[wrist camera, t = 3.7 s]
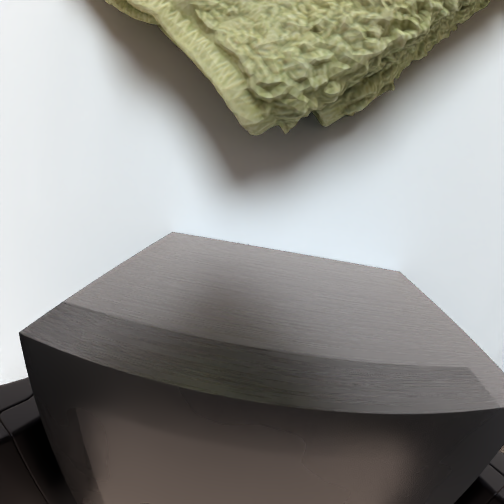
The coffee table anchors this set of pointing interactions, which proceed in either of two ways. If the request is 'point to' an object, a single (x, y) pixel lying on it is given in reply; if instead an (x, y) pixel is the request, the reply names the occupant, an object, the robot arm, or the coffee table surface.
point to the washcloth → (301, 50)
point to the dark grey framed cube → (260, 383)
